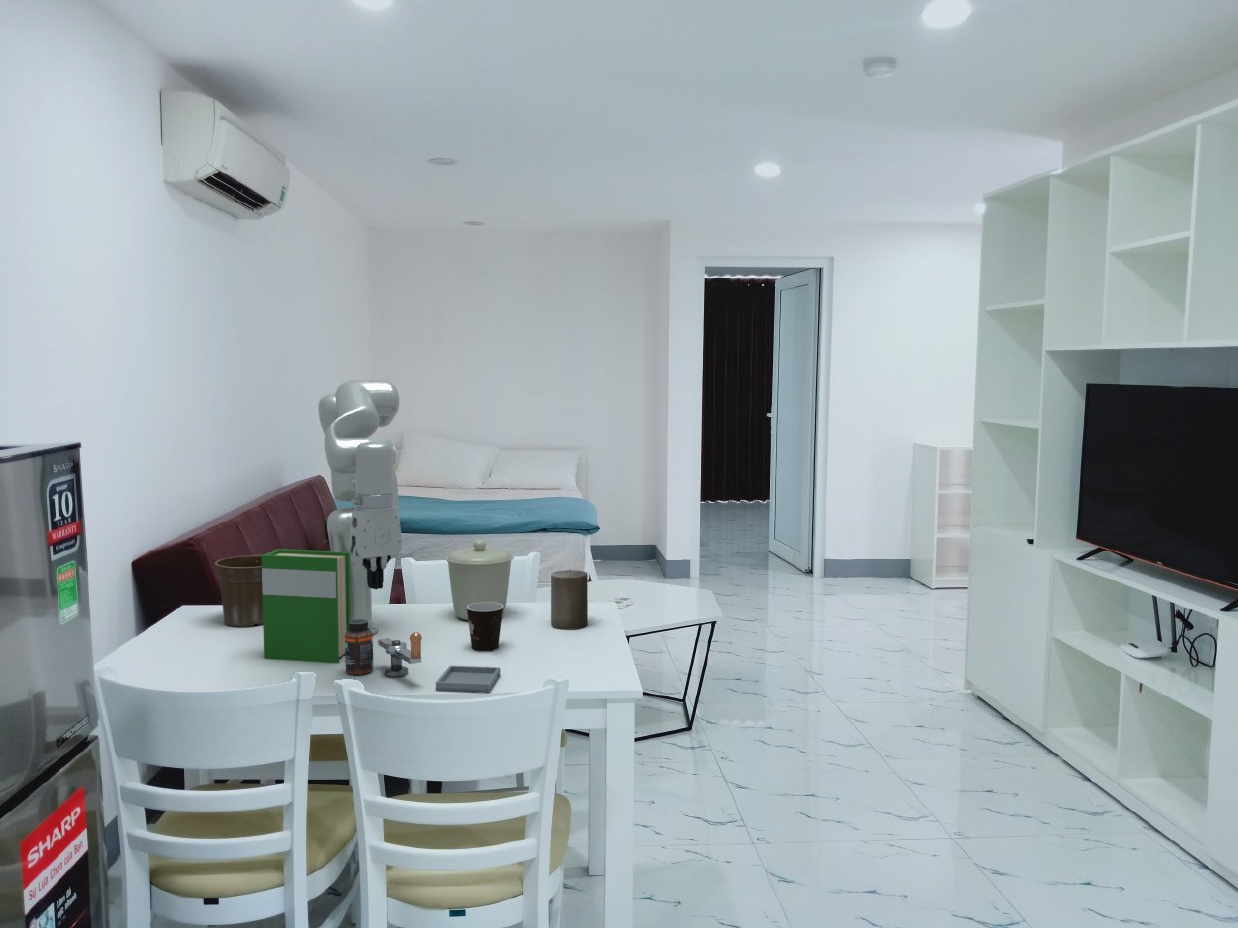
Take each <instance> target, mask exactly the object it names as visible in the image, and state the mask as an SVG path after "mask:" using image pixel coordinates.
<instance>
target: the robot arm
mask: <svg viewBox="0 0 1238 928" xmlns="http://www.w3.org/2000/svg"><path fill="white" fill-rule="evenodd" d="M399 407H400V394H399V391H398V389H397V387H396V386H395V384H394V383H393V382H391V381H390V380H389V381H388V380H377V379H376V380H372V379H371V380H367V379H365V380H364V379H363V380H362V379H361V380H359V379H357V380H356V379H355V380H348V381H345V382H343V383H341V384H339V386H338V387H337V388H336V390H335V393H331V394H330V393H329V394H327V395H324V396H322V397H321V398H320V400H319V402H318V418H319V422H320V426H321V428H322V431H323V433H324V441H323V442H324V452H325V457H326V462H327V465H328V468H329V469H330V480H331V492H332V495H333V498H334V499H336V501H338V502H342V503H351V505H352V506H354V505H355V507H342V508H338V509H336V510H334V511H332V512H331V513H330V514H328V517H327V519H326V528H327V534H328V541H329V546H330V547H329V549H330V551H332V552H350V588H351V621H352V620H356V619H365V620H368V628H369V629H370V630H371V631H372V633H373V635H375V634H376V633H377V634H378V632H379V626H378V624H377V623H374V622H373V618H372V617H373V615H372V614H373V607H372V605H373V603H372V602H373V601H372V589H373V590H380V589H383V588H384V581H385V578H384V577H385V576H384V575H385V574H384V573H385V570H386V568H387V565H388V564H389V562H390V560H393V559H394V558H397V557H398V556H399V553H400V552H401V551H402V545H403V543H402V529H401V520H400V507H399V506H400V505H399V504H400V501H399V488H398V478H397V475H396V471H395V468H394V465H395V464H396V460H397V448H396V446H395V445H394V444H393V443H392V441H391V440H390V439H388V438H385V437H384V438H383V437H371V436H372V435H374V434H375V433H376V431H377V430H378V428H384V427H388V426H389V425H391V423H392V421H393V420H394V419H395V417H396V416H397V414H398V411H399Z"/></svg>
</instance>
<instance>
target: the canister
mask: <svg viewBox="0 0 1238 928" xmlns="http://www.w3.org/2000/svg"><path fill="white" fill-rule="evenodd" d="M514 557H515V556H514V555H513V554H512V553H510V552H508V551H507V550H506V549H503V548H498V547H497V548H496V547H489V546H488V547H487V541H485V540H484V539H481V538H480V539H476V540H474V541H473V543H472V547H467V548H465V547H464V548H460V549H456V550H453V551H452V552H450V553H449V554H448V555H446V556H445V557H444V558H445V561H446V562H447V564H448V565H447V566H448V573H449V575H448V576H449V582H450V583H449V584H450V591H451V592H450V594H451V599H452V607H453V610H454V613H455V614H456V616H457V617H458V618H459V619H461V620H464V621H468V613H467V606H468V605H470V604H474V603H480V602H493V603H499V604H502V605H503V613H502V615H503V614H504V612H505V611H506V607H507V600H508V593H509V584H510V574H511V565H512V561H513V560H514Z"/></svg>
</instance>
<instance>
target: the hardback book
mask: <svg viewBox="0 0 1238 928" xmlns="http://www.w3.org/2000/svg"><path fill="white" fill-rule="evenodd" d="M261 555H262V587H263V625H262V626H263V653H264V656H263V657H264V659H265V660H276V661H277V660H279V661H291V662H292V661H293V662H305V663H306V662H307V663H309V662H310V663H324V664H326V663H327V664H338V663H340V658H341V657H342V656H344V655H345V633H346V632H347V631H348V630H349V622H350V621H351V588H350V552H332V551H331V550H328V551H327V550H308V549H307V550H306V549H283V548H282V549H281V548H277V549H275V550H273V551H269V552H267V553H264V554H261Z"/></svg>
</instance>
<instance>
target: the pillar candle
mask: <svg viewBox="0 0 1238 928" xmlns="http://www.w3.org/2000/svg"><path fill="white" fill-rule="evenodd" d="M588 575H589V574H588V572H587V571H583V570H577V569H576V570H575V569H573V570H572V569H570V568H568V569H566V570H557V571H553V572H552V573H550V625H551V626H552V628H555V629H560V630H578V629H582V628H586V627H587V626H588V624H589V622H588V621H589V620H588V618H589V617H588V616H589V615H588V614H589V613H588V612H589V610H588V609H589V608H588V607H589V606H588V605H589V604H588V595H589V594H588V590H589V589H588V588H589V587H588V582H589V581H588V577H589V576H588Z"/></svg>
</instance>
